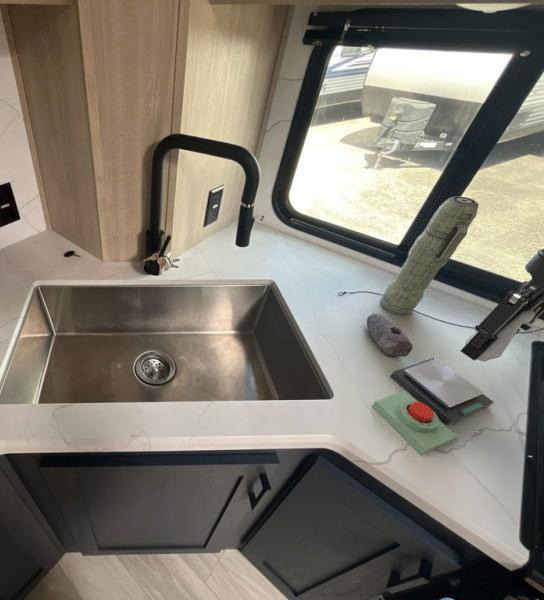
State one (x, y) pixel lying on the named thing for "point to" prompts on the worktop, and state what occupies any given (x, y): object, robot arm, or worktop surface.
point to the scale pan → (443, 383)
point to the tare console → (413, 423)
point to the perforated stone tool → (388, 336)
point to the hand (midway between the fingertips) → (479, 351)
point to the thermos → (429, 254)
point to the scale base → (440, 410)
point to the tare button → (420, 412)
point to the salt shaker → (503, 337)
